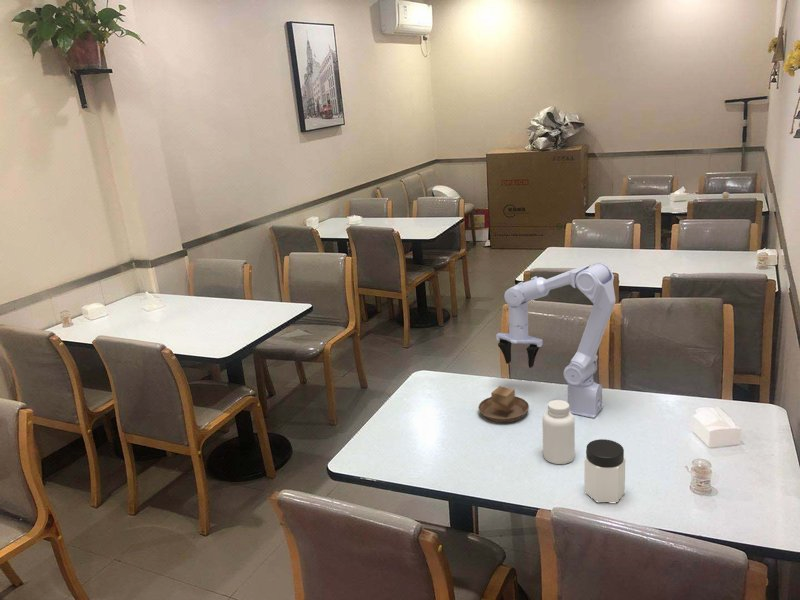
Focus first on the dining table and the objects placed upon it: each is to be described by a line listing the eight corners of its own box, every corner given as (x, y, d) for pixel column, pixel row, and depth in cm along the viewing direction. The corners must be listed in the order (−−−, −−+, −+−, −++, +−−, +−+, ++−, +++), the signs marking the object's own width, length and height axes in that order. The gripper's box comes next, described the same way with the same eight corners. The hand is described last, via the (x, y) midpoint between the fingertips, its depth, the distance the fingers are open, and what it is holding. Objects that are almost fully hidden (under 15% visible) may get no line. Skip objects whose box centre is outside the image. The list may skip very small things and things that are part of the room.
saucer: (472, 423, 184) (472, 414, 183) (486, 400, 197) (486, 392, 196) (522, 429, 178) (522, 420, 178) (533, 405, 191) (533, 397, 190)
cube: (514, 404, 187) (514, 389, 186) (507, 411, 183) (506, 396, 182) (499, 401, 190) (499, 386, 188) (491, 408, 186) (491, 392, 185)
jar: (595, 478, 153) (595, 434, 149) (628, 489, 147) (630, 444, 144) (579, 497, 146) (579, 451, 143) (613, 509, 141) (614, 462, 137)
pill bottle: (575, 450, 165) (575, 398, 161) (573, 466, 158) (573, 413, 154) (544, 447, 168) (544, 396, 163) (541, 463, 161) (540, 410, 156)
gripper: (491, 324, 193) (492, 365, 197) (535, 330, 185) (536, 373, 189) (501, 317, 198) (502, 357, 202) (545, 323, 190) (545, 364, 194)
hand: (519, 364), depth 196 cm, fingers open, 7 cm apart
